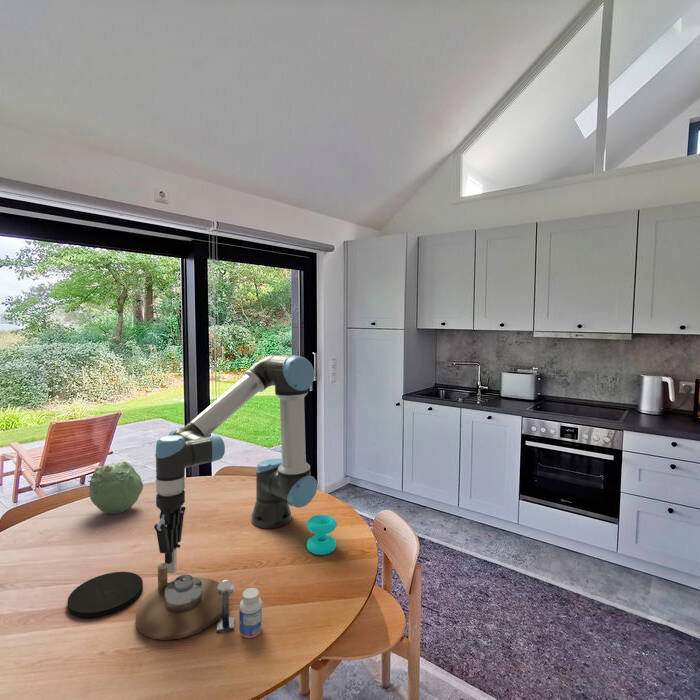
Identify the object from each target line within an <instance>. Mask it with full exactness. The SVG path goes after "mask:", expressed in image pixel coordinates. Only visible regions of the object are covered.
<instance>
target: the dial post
mask: <svg viewBox="0 0 700 700" xmlns="http://www.w3.org/2000/svg"><path fill="white" fill-rule="evenodd" d="M234 591H235V584H234V581H232V579H228V578H226V579H223V580H221V581H220V582H219V584H218V587H217V592H218V594H219V595H220V596H222V615H221V617H220V618H219V619H218V620H217V621H216V622H217V624H216V633H217V634H219V633H225V632H226V633H227V632H232V631H235V616H234V615H233V616H230V596H231V595H232V594H233V593H234Z"/></svg>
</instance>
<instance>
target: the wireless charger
mask: <svg viewBox="0 0 700 700" xmlns="http://www.w3.org/2000/svg"><path fill="white" fill-rule="evenodd" d="M143 583H144V581H143V579H142V577H141V576H140V575H139V574H137V573H135V572H130V571H115V572H114V571H113V572H109V573H105V574H100V575H98V576H95V577H93V578H91V579H89V580H87V581H84V582H83V583H81V584H80V585H78V586H77V587H75V588H74V589H73V590H72V591H71V593H70V594H69V595H68V598H67V612H68V613H69V615H70V616H72V617H74V618H76V619H82V620H95V619H100V618H105V617H108V616H111V615H114V614H118V613H119V612H121V611H123V610H125V609H126V608H129V607H130V606H131V605H132V604H134V603H135V602H136V601H137V600H138V599H140V597H141V596H142V593H143V590H144V588H143V587H144V585H143Z"/></svg>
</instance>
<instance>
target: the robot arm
mask: <svg viewBox="0 0 700 700" xmlns="http://www.w3.org/2000/svg"><path fill="white" fill-rule="evenodd" d="M314 381H315V370H314V367H313V365H312V363H311V362H310V361H309V359H308V358H305V357H304V356H300V355H296V354H282V353H273V354H272V353H271V354H269V355H267V356H265V357H263V358H261V359H260V360H258V361H257V362H255V363H254V364H252V365H251V366H250V367H249V368H248V369H246V370H245V371H244V373H243V377H242V378H240V379H239V380H238V381H237V382H235V383H234V384H233V385H232V386H231V387H230V388H228V389H227V391H225V392H224V393H223V394H221V395H220V396H219V397H218V398H216V400H214V401H213V402H212V403H211V404H209V406H207V407H206V408H205V409H204V410H202V411H201V412H200V413H199V414H198V415H197V416H195V417H194V418H193V419H192V420H190V422H188V423H187V424H186V425H184V427H177V428H174V429H172V430H171V431H170V432H169V434H168V435H166V436H165V435H164V436H162V437H160V438H158V439H157V440H156V445H155V455H154V457H155V474H156V475H155V478H156V479H155V486H156V487H155V488H156V489H155V490H156V491H155V492H156V494H155V498H156V499H155V505H156V508H157V509H159V510H160V514H159V521H158V523H155V524H154V527H153V528H154V530H155V532H156V538H157V544H158V550H159V553H160V554H164V563H167V564H168V567H167V574H173V575H174V574H175V573H176V572H177V570H178V569H177V564H178V563H177V562H178V561H177V559H178V557H177V555H178V554H177V552H178V550H177V549H179V548H180V547H181V544H179V543H181V541H182V535H183V527H184V526H183V525H184V515H185V511H186V506H183V505H184V504H185V503H186V500H185V499H186V496H185V495H186V491H185V488H186V478H185V477H186V476H185V475H186V474H185V473H186V468H191V467H195V466H199V465H203V464H209V463H213V462H216V461H219V460H222V459H223V457H224V456H225V452H226V451H225V450H226V448H225V447H226V446H225V442H224V440H223V438H222V437H221V436H219V435H212V433H214V432H215V430H217V429H218V428H220V426H221V425H223V424H224V423H225V422H226V421H227V420H228V419H229V418H231V416H233V415H234V414H235V413H236V412H238V410H240V409H241V408H242V407H243V406H244V405H245V404H246V403H248V402H249V400H251V399H252V398H253V397H254V396H256V395H257V394H258V393H263V392H264V391H265V390H266V389H267V388H270V387H271V386H274V394H275V396H277V398H279V408H280V409H279V413H280V415H279V416H280V443H281V444H280V445H281V446H280V447H281V458H270V459H265V460H263V461H260V462H258V463H257V465H256V470H255V471H256V472H255V474H256V480H255V482H256V484H255V485H256V488H255V489H256V496H255V497H256V499H255V503H254V506H253V510H252V512H251V518H250V519H251V523H252V524H253V526H255V527H257V528H262V529H276V528H281V527H284V526H286V525H288V524H289V523H290V522H291V520H292V511H291V508H290V507H295V508H300V509H301V508H304V507H306V506H308V505H309V504H310V503H311V502H312V501H313V499H314V498H315V496H316V493H317V490H318V482H317V480H316V478H315V476H313V475H311V465H310V463H308V462H307V457H306V456H307V455H306V425H305V423H306V419H305V418H306V416H305V397H306V396H307V394H309V388H310V387H312V383H314Z"/></svg>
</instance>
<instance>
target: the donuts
mask: <svg viewBox="0 0 700 700" xmlns="http://www.w3.org/2000/svg"><path fill="white" fill-rule="evenodd" d="M337 524H338V523H337V520H336V519H335V518H334V517H333V516H331V515H329V514H318V515H313V516H312V517H310V518H309V519H308V520H307V523H306V527H307V529H308V531H310V532H311V533H312V534H313V535H312V536H311V537H309V538H308V540H307V542H306V548H307V550H308V551H309V553H311V554H314V555H318V556H322V555H323V556H325V555H328V554H331V553H333V552H334V551H335V549H336V548H337V541H336V539H335V538H334V537H333V536H332V535H330V534H331V533H332V532H334V531H335V530H336V528H337Z"/></svg>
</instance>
